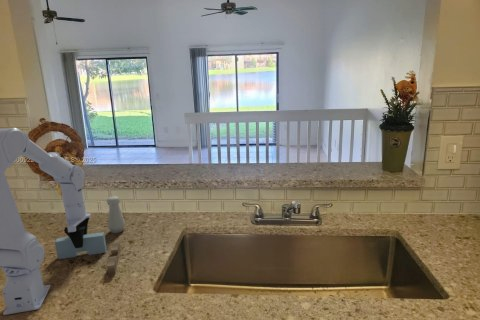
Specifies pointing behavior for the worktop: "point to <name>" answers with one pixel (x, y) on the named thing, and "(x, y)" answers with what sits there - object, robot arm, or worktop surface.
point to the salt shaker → (115, 215)
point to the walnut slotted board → (113, 258)
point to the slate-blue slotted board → (90, 243)
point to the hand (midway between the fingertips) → (81, 242)
